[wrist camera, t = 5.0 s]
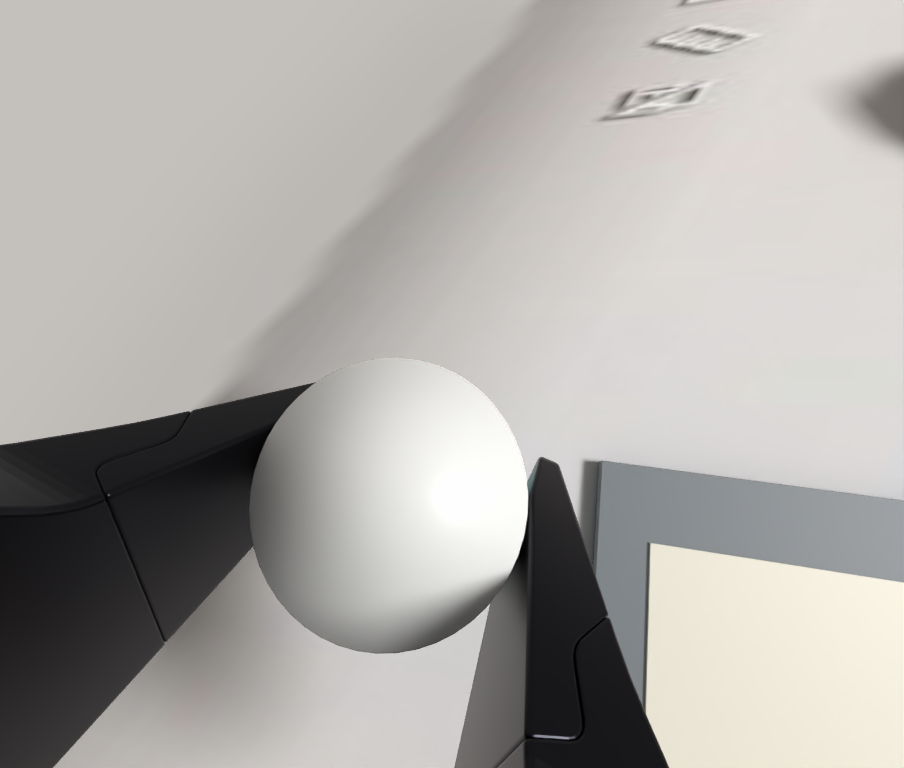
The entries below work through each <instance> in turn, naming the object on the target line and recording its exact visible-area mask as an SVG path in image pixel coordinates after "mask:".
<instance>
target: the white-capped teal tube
mask: <svg viewBox="0 0 904 768" xmlns="http://www.w3.org/2000/svg"><path fill="white" fill-rule="evenodd" d="M249 512H250V529H251V535H252V541H253V546H254V550H255V553H256V556H257V560H258V563H259V566H260V568H261V570H262V572H263V575H264V577H265V579H266V581H267V583H268V585H269V586H270V588H271V590H272V591H273V593H274V594H275V596H276V597H277V599H278V600H279V601H280V603H281V604H282V605H283V606H284V607H285V609H286V610H287V611H288V612H289V613H290V614H291V615H292V616H293V617H294V618H295V619H296V620H297V621H299V622H300V623H301V624H302V625H303V626H304V627H306V628H307V629H309V630H310V631H312V632H313V633H315V634H316V635H318V636H319V637H321V638H323V639H325V640H327V641H330V642H332V643H334V644H336V645H338V646H342V647H345V648H349V649H352V650H356V651H361V652H369V653H400V652H405V651H411V650H416V649H420V648H423V647H426V646H429V645H432V644H435V643H437V642H439V641H441V640H443V639H445V638H447V637H449V636H451V635H453V634H454V633H456V632H457V631H459V630H460V629H462V628H463V627H464V626H466V625H467V624H469V623H470V622H471V621H472V620H474V619H475V618H476V617H477V616H478V615H479V614H480V613H481V612H482V611H483V610H484V609H485V608H486V607H487V606H488V605H489V604H490V602H491V601H492V600H493V599H494V597H495V596H496V595H497V594H498V592H499V591H500V589H501V588H502V586H503V585H504V583H505V581H506V580H507V578H508V576H509V575H510V573H511V571H512V568H513V566H514V564H515V562H516V559H517V557H518V555H519V551H520V548H521V544H522V541H523V538H524V534H525V527H526V521H527V514H528V489H527V479H526V472H525V468H524V464H523V459H522V455H521V453H520V450H519V447H518V445H517V442H516V439H515V437H514V435H513V433H512V431H511V429H510V427H509V426H508V424H507V422H506V420H505V419H504V418H503V416H502V415H501V413H500V412H499V410H498V409H497V408H496V406H495V405H494V404H493V403H492V402H491V401H490V400H489V399H488V398H487V397H486V395H485V394H484V393H482V392H481V391H480V390H479V389H478V388H476V387H475V386H474V385H473V384H472V383H470V382H469V381H467V380H466V379H464V378H463V377H461V376H459V375H458V374H456V373H454V372H452V371H450V370H448V369H445V368H443V367H441V366H438V365H435V364H432V363H429V362H425V361H420V360H415V359H409V358H380V359H372V360H367V361H363V362H358V363H355V364H352V365H349V366H347V367H344V368H341V369H339V370H337V371H335V372H333V373H331V374H329V375H327V376H325V377H324V378H322V379H321V380H319V381H318V382H316V383H314V384H313V385H312V386H310V387H309V388H308V389H307V390H306V391H304V392H303V393H302V394H301V395H300V396H298V398H297V399H296V400H295V401H294V402H293V403H292V404H291V405H290V406H289V407H288V408H287V409H286V410H285V412H284V413H283V414H282V416H281V417H280V418H279V420H278V421H277V422H276V424H275V426H274V427H273V429H272V431H271V432H270V434H269V436H268V438H267V439H266V442H265V444H264V446H263V449H262V451H261V453H260V455H259V459H258V462H257V465H256V468H255V471H254V476H253V481H252V487H251V493H250V508H249Z"/></svg>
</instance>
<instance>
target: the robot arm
mask: <svg viewBox="0 0 904 768" xmlns="http://www.w3.org/2000/svg"><path fill="white" fill-rule="evenodd" d="M315 383H316V382H315ZM313 384H314V383H311V384H307V385H302V386H298V387H293V388H289V389H285V390H280V391H276V392H271V393H267V394H263V395H258V396H254V397H249V398H245V399H240V400H236V401H232V402H227V403H223V404H218V405H214V406H209V407H205V408H201V409H196V410H193V411H192V412H189V411H187V412H183V413H178V414H174V415H170V416H165V417H160V418H155V419H151V420H146V421H141V422H137V423H131V424H125V425H120V426H114V427H108V428H103V429H97V430H91V431H85V432H79V433H73V434H67V435H61V436H55V437H49V438H43V439H37V440H31V441H25V442H18V443H12V444H5V445H0V768H53V767H54V766H55V765H56V764H57V763H58V762H59V760H60V759H61V758H62V757H63V756H64V755H65V754H66V753H67V752H68V750H69V749H70V748H71V747H72V746H73V745H74V744H75V743H76V742H77V741H78V739H79V738H80V737H81V736H82V735H83V734H84V733H85V732H86V731H87V730H88V728H89V727H90V726H91V725H92V724H93V723H94V722H95V721H96V720H97V718H98V717H99V716H100V715H101V714H102V713H103V712H104V711H105V710H106V709H107V707H108V706H109V705H110V704H111V703H112V702H113V701H114V700H115V699H116V697H117V696H118V695H119V694H120V693H121V692H122V691H123V690H124V689H125V688H126V686H127V685H128V684H129V683H130V682H131V681H132V680H133V679H134V678H135V676H136V675H137V674H138V673H139V672H140V671H141V670H142V669H143V668H144V667H145V665H146V664H147V663H148V662H149V661H150V660H151V659H152V658H153V657H154V656H155V654H156V653H157V652H158V651H159V650H160V649H161V648H162V647H163V646H164V644H165V642H166V641H168V640H169V639H170V637H171V636H172V635H173V634H174V633H175V632H176V631H177V630H178V629H179V627H180V626H181V625H182V624H183V623H184V622H185V621H186V620H187V619H188V618H189V616H190V615H191V614H192V613H193V612H194V611H195V610H196V609H197V608H198V607H199V605H200V604H201V603H202V602H203V601H204V600H205V599H206V598H207V597H208V595H209V594H210V593H211V592H212V591H213V590H214V589H215V588H216V587H217V586H218V584H219V583H220V582H221V581H222V580H223V579H224V578H225V577H226V576H227V574H228V573H229V572H230V571H231V570H232V569H233V568H234V567H235V566H236V565H237V563H238V562H239V561H240V560H241V559H242V558H243V557H244V556H245V555H246V553H247V552H248V551H249V550H250V549H251V548H252V547H253V541H252V535H251V529H250V512H249V508H250V493H251V487H252V481H253V476H254V471H255V468H256V465H257V462H258V459H259V455H260V453H261V451H262V449H263V446H264V444H265V442H266V439H267V438H268V436H269V434H270V432H271V431H272V429H273V427H274V426H275V424H276V422H277V421H278V420H279V418H280V417H281V416H282V414H283V413H284V412H285V410H286V409H287V408H288V407H289V406H290V405H291V404H292V403H293V402H294V401H295V400H296V399H297V398H298V396H300V395H301V394H302V393H303V392H304V391H306V390H307V389H308V388H309V387H310V386H312V385H313ZM527 489H528V514H527V521H526V527H525V534H524V538H523V541H522V544H521V548H520V551H519V555H518V557H517V559H516V562H515V564H514V566H513V568H512V571H511V573H510V575H509V576H508V578H507V580H506V581H505V583H504V585H503V586H502V588H501V589H500V591H499V592H498V594H497V595H496V596H495V597H494V599H493V600H492V601H491V603H490V607H489V612H488V616H487V621H486V626H485V630H484V635H483V639H482V644H481V648H480V653H479V658H478V662H477V667H476V671H475V676H474V680H473V685H472V690H471V694H470V699H469V703H468V708H467V712H466V717H465V722H464V726H463V731H462V735H461V740H460V744H459V749H458V754H457V758H456V763H455V767H454V768H669V766H668V763H667V761H666V759H665V756H664V754H663V752H662V750H661V747H660V745H659V743H658V740H657V738H656V736H655V734H654V731H653V729H652V727H651V724H650V722H649V720H648V717H647V715H646V713H645V710H644V708H643V705H642V703H641V700H640V698H639V696H638V693H637V691H636V688H635V686H634V683H633V681H632V679H631V676H630V673H629V671H628V668H627V665H626V662H625V660H624V657H623V654H622V651H621V648H620V646H619V643H618V640H617V637H616V634H615V631H614V628H613V625H612V622H611V619H610V618H608V611H607V608H606V605H605V602H604V599H603V596H602V593H601V590H600V587H599V584H598V581H597V578H596V575H595V572H594V569H593V566H592V563H591V560H590V557H589V554H588V551H587V548H586V545H585V542H584V539H583V536H582V533H581V530H580V527H579V524H578V521H577V518H576V515H575V512H574V509H573V506H572V503H571V500H570V497H569V494H568V491H567V488H566V485H565V482H564V479H563V476H562V473H561V470H560V467H559V465H558V464H557V463H555V462H553V461H551V460H548V459H546V458H544V457H540V458H539V459H538V460H537V462H536V465H535V467H534V469H533V471H532V473H531V475H530V477H529V479H528V481H527Z"/></svg>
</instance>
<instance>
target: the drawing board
mask: <svg viewBox="0 0 904 768" xmlns="http://www.w3.org/2000/svg"><path fill="white" fill-rule="evenodd" d="M593 569H594V572H595V575H596V578H597V581H598V584H599V587H600V590H601V593H602V596H603V599H604V602H605V605H606V608H607V611H608V618H610V619H611V622H612V625H613V628H614V631H615V634H616V637H617V640H618V643H619V646H620V648H621V651H622V654H623V657H624V660H625V662H626V665H627V668H628V671H629V673H630V676H631V679H632V681H633V683H634V686H635V688H636V691H637V693H638V696H639V698H640V700H641V703H642V705H643V708H644V710H645V713H646V715H647V717H648V720H649V722H650V724H651V727H652V729H653V731H654V734H655V736H656V738H657V740H658V743H659V745H660V747H661V750H662V752H663V754H664V756H665V759H666V761H667V763H668V766H669V768H904V501H902V500H894V499H886V498H879V497H871V496H864V495H856V494H849V493H841V492H834V491H826V490H819V489H811V488H804V487H796V486H788V485H781V484H773V483H766V482H758V481H751V480H743V479H736V478H728V477H721V476H713V475H705V474H698V473H690V472H683V471H675V470H668V469H660V468H653V467H645V466H638V465H630V464H622V463H615V462H607V461H599V471H598V488H597V506H596V523H595V540H594V558H593Z"/></svg>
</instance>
